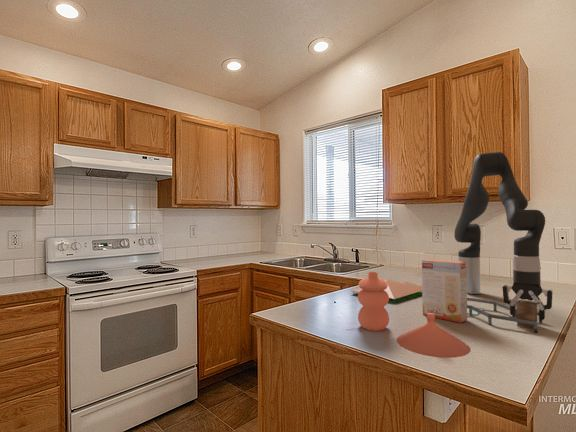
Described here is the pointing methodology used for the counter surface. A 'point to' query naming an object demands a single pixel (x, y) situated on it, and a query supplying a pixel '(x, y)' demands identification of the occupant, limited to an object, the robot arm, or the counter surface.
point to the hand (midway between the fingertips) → (527, 318)
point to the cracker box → (444, 289)
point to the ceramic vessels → (417, 340)
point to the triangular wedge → (398, 289)
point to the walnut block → (526, 312)
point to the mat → (474, 311)
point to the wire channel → (499, 315)
